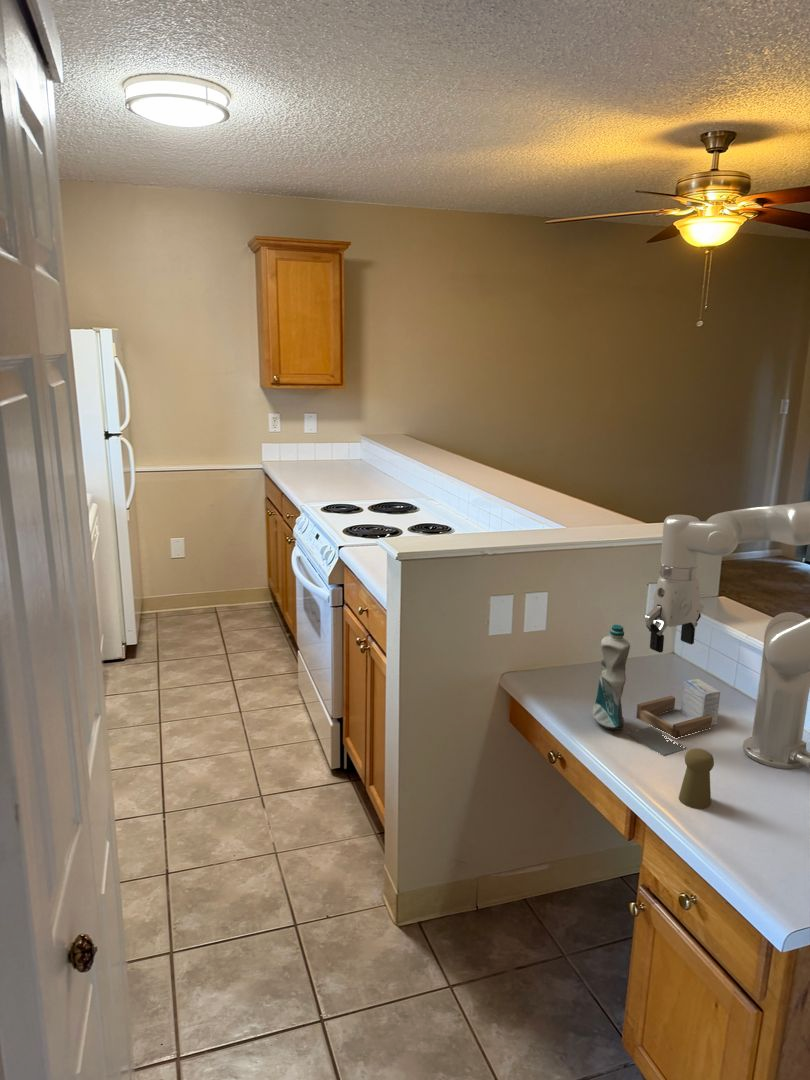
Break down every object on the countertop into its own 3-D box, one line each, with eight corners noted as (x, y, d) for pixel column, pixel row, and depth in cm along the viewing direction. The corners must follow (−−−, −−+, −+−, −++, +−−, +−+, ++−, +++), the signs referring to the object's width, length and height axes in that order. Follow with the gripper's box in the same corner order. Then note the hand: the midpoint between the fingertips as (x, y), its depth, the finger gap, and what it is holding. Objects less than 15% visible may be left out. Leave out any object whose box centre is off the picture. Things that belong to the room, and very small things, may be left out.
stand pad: (687, 750, 165) (687, 748, 165) (663, 757, 162) (663, 755, 162) (650, 728, 175) (650, 726, 175) (627, 735, 172) (627, 732, 172)
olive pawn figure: (694, 815, 142) (700, 763, 139) (671, 798, 147) (676, 747, 144) (718, 808, 144) (724, 756, 141) (694, 792, 149) (700, 741, 147)
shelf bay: (710, 730, 174) (712, 716, 173) (675, 740, 169) (677, 726, 169) (670, 708, 185) (671, 695, 184) (636, 717, 180) (637, 704, 179)
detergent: (584, 714, 182) (591, 615, 176) (613, 713, 183) (621, 615, 177) (603, 740, 169) (611, 636, 163) (634, 739, 170) (643, 635, 164)
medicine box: (717, 725, 177) (721, 691, 175) (701, 728, 175) (705, 693, 173) (695, 711, 184) (699, 678, 182) (679, 713, 183) (683, 680, 181)
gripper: (663, 582, 156) (657, 659, 160) (719, 570, 164) (712, 644, 168) (636, 573, 162) (630, 648, 166) (691, 563, 170) (685, 634, 174)
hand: (671, 646), depth 167 cm, fingers open, 9 cm apart
